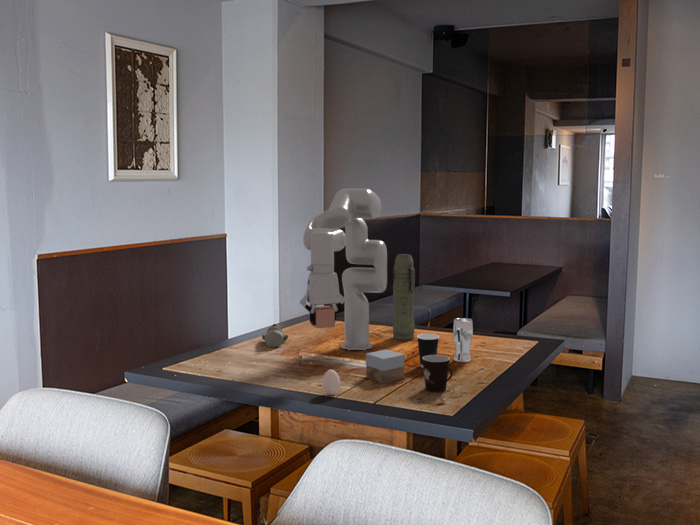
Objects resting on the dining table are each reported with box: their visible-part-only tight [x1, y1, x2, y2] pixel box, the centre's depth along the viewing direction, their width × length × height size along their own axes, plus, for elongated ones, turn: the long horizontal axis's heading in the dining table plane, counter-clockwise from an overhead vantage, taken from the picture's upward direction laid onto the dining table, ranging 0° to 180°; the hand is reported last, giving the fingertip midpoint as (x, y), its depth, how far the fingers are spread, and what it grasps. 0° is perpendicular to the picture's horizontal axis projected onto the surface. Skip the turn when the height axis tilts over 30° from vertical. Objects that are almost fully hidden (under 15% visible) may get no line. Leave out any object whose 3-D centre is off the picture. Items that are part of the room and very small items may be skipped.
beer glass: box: [452, 317, 474, 363], centre depth 260 cm, size 7×7×15 cm
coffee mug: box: [422, 354, 453, 393], centre depth 223 cm, size 12×9×10 cm
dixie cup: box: [416, 333, 440, 369], centre depth 251 cm, size 8×8×11 cm
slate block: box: [365, 349, 405, 371], centre depth 237 cm, size 9×9×4 cm
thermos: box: [392, 253, 416, 342], centre depth 294 cm, size 9×12×35 cm
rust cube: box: [310, 305, 336, 330], centre depth 233 cm, size 6×6×6 cm
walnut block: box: [365, 364, 405, 384], centre depth 238 cm, size 9×9×4 cm
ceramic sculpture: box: [261, 323, 289, 348], centre depth 286 cm, size 11×9×15 cm
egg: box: [321, 369, 341, 396], centre depth 220 cm, size 6×6×8 cm
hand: (323, 323), depth 234 cm, fingers closed on rust cube, 6 cm apart
